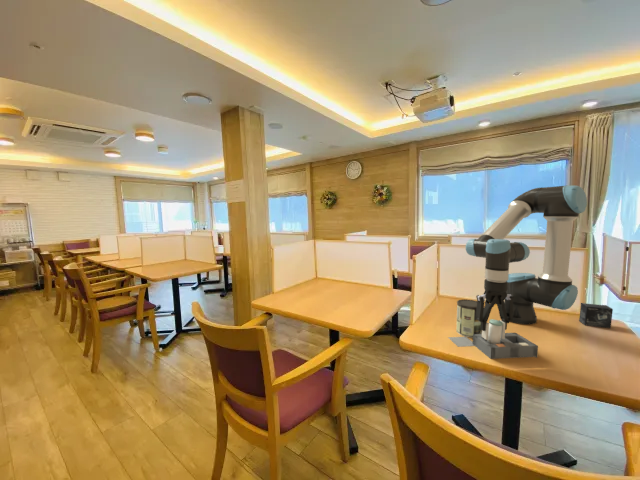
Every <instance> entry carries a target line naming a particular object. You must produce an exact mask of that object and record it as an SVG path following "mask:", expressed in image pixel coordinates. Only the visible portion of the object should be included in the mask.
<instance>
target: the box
mask: <svg viewBox="0 0 640 480" xmlns="http://www.w3.org/2000/svg"><path fill="white" fill-rule="evenodd" d="M613 310H614V309H613V308H612V307H610V306H608V305H607V304H593V303H587V302H580V311H579V317H578V318H579V319H578V321H579V322H580V323H581V324H583V326H587V327H588V326H589V327H596V328H605V329H611V328H612V327H611V326H612V320H613Z"/></svg>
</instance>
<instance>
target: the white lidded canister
mask: <svg viewBox="0 0 640 480" xmlns="http://www.w3.org/2000/svg"><path fill="white" fill-rule="evenodd" d="M488 320H489V321H488V323H489V332H488V340H487V342H488V343H489V344H500V339H501V331H502V325H503V323H502V322H501V321H502V320H501V321H499V320H497V319H488Z"/></svg>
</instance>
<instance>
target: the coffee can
mask: <svg viewBox="0 0 640 480" xmlns="http://www.w3.org/2000/svg"><path fill="white" fill-rule="evenodd" d="M456 305H457V306H456V329H455V330H456V333H458V335H460V336H462V337H467V338H469V339H470V338H471V339H473V334H482V330H481V328H480V325H481V322H480V321H478V320H477V319H476V309H477V300H475V299H459V300H457V301H456Z"/></svg>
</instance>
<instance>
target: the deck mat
mask: <svg viewBox="0 0 640 480" xmlns="http://www.w3.org/2000/svg"><path fill="white" fill-rule="evenodd" d="M447 338H448V339H449V340H450V341H451V342H452V343H453V344H454V345H455V346H457V347H461V348H462V347H475V346H474V345H473V340H471V339H470V338H469V337H466V336H449V337H447Z"/></svg>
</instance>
